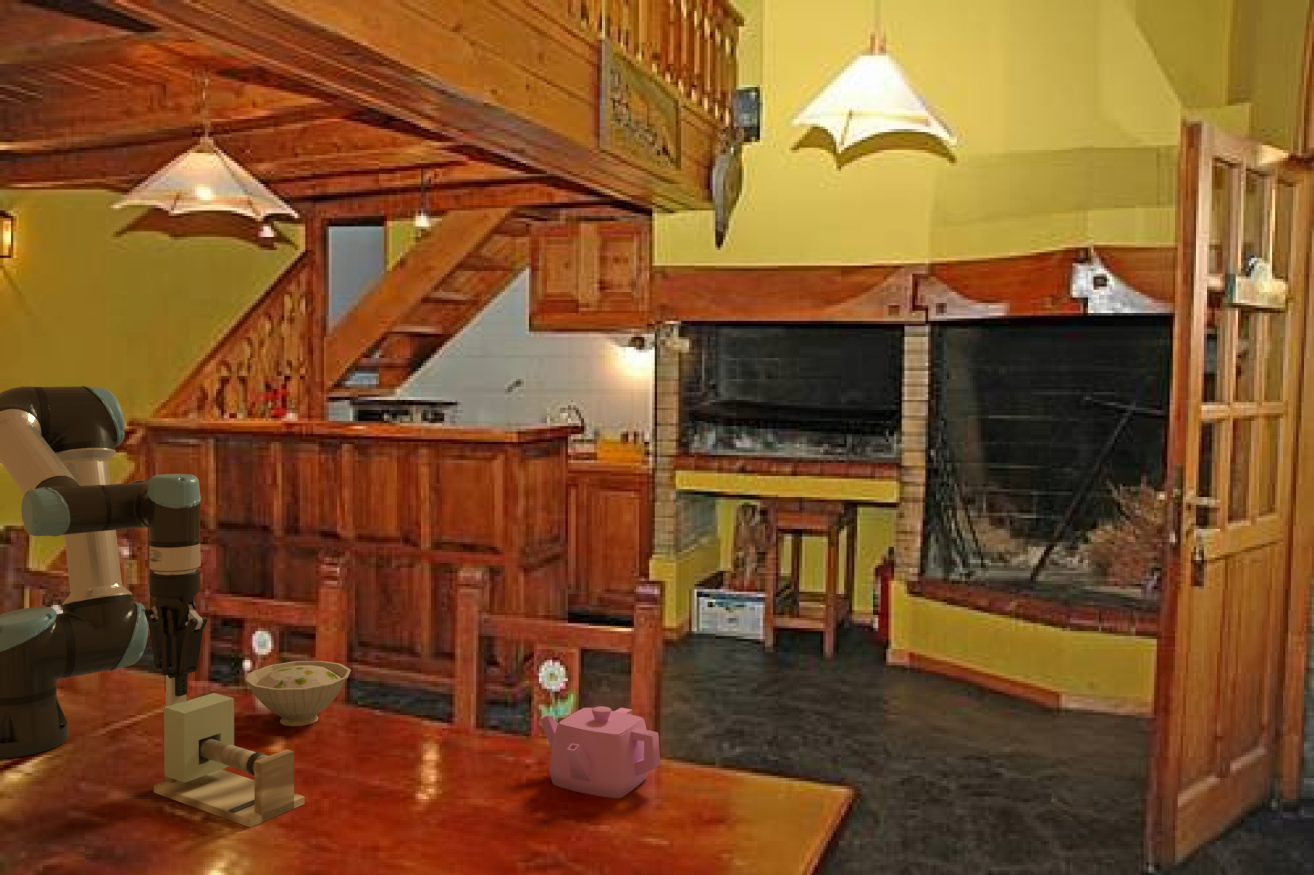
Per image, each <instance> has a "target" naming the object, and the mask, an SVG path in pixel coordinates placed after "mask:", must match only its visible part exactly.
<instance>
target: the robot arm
mask: <svg viewBox="0 0 1314 875" xmlns="http://www.w3.org/2000/svg"><path fill="white" fill-rule="evenodd" d="M125 426H126V424H125V417H124V414H123V410H122V407H121V404H120V402H119V401H118V398H117V397H116V395H114V394H113V392H112V391H110V390H109V389H107V388H104V387H94V386H91V387H90V386H87V385H86V386H85V385H82V386H28V385H27V386H17V387H12V388H9V389H7V390H3V391H1V392H0V463H1V464H2V466H3V468H4V469H5V470H6V472H7V474H8V475H9V476H10V477H11V479H12V481H13V482H14V483H15V484H16V486H17V487H18V489H19V490H20V491H21V493H22V494H23V497H22V500H21V520H22V522H23V527H24V530H25V531H26V533H27V534H28V535H29V536H33V537H49V536H50V537H59V536H64V545H65V555H66V562H67V563H66V564H67V571H68V572H67V573H68V583H69V591H70V592H69V595H68V596H67V598H66V599H65V600H64V601H63V602H62V613H57V612H56V609H55V608H53V607H51V606H35V607H24V608H20V609H19V608H18V609H15V610H11V611H7V612H3V613H1V614H0V759H10V758H11V759H13V758H20V757H26V756H31V755H35V754H39V753H43V752H47V751H49V750H52V749H54V748H57V747H59V746H60V745H62V744H64V743H65V742H67V741H68V739H69V724H68V721H67V718H66V715H65V714H64V711H63V709H62V706H61V703H60V700H59V699H58V695H57V694H58V692H57V685H58V684H57V683H58V680H61V679H67V678H72V677H74V678H75V677H79V676H84V675H89V674H96V673H101V672H106V671H116V670H117V669H121V668H127V667H130V666H134V665H135V664H136V663H137V662H139V660H140V659H142V656H143V654H144V653H145V652H144V651H145V649H146V647H147V643H148V637H149V636H150V641H151V642H150V643H151V647H152V648H151V649H152V654H153V661H154V662H153V663H154V667H155V668H156V669H157V670H159V669H160V670H161V672H162V674H163V675H164V691H165V707H167V706H171V705H174V704H178V703H181V702H184V701H188V700H187V694H188V676H189V674H191V673H195V672H197V670H198V666H199V665H198V664H199V659H200V652H201V647H202V646H201V645H202V640H203V632H204V630H205V627H206V624H207V622H208V618H207V617H206V615H203V616H200V615H199V613H197V604H196V600H195V597H196V596H197V595H198V594H199V593H200V592H201V586H202V585H201V572H200V570H199V568H200V567H201V566H202V561H201V560H202V558H201V501H202V495H201V492H200V491H201V490H200V489H201V488H200V480H199V479H198V477H197V476H196V475H194V474H186V473H185V474H184V473H166V474H165V473H163V474H155V475H152V477H151V478H149V479H146V480H133V481H131V482H128V483H114V484H111V476H110V468H109V463H110V462H109V461H110V460H111V459H113V458H114V456H115V455H116V453H117V452H116V447H119V446H120V445H121V444H122V443H123V441H124V439H125V431H124V430H125V429H126V427H125ZM144 528H145V529H148V546H149V554H148V557H149V569H150V570H151V571H152V572H150V574H149V575H148V579H149V580H148V586H149V590H148V592H149V595H150V596H151V597H152V598H155V600H154V605H153V607H151V608H147V609H146V608H145V606H144V605H143V604H142V603H140V602H138V601H135V602H134V599H133V598H134V597H133V592H131V591H130V590H128V589H127V588H125V587H124V586H123V580H122V573H121V565H120V555H119V554H120V553H119V546H118V538H117V531H119V530H121V531H122V530H133V529H144ZM148 635H149V636H148Z"/></svg>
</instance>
